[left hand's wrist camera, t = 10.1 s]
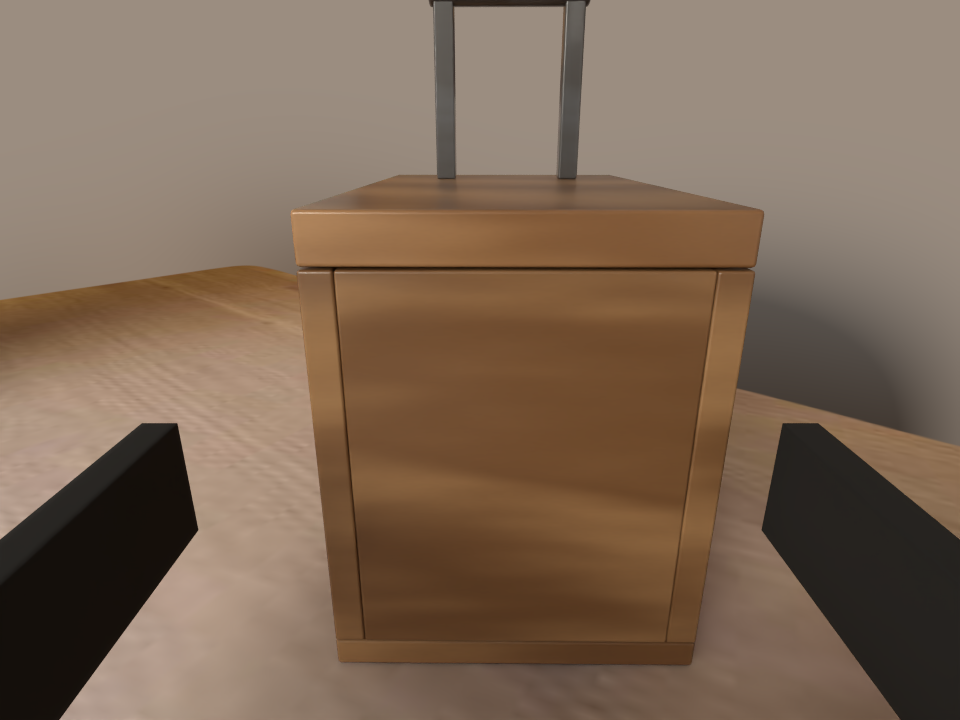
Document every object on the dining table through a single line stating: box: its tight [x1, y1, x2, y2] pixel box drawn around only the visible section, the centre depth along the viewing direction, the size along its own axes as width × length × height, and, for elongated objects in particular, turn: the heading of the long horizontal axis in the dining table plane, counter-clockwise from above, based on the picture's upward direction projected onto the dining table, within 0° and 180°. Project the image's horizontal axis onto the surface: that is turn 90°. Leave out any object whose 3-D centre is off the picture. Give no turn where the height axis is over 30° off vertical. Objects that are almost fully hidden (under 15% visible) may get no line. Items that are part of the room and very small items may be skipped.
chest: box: [297, 267, 755, 665], centre depth 20 cm, size 14×9×10 cm, turn 179°
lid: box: [291, 0, 764, 268], centre depth 17 cm, size 15×9×8 cm, turn 0°
